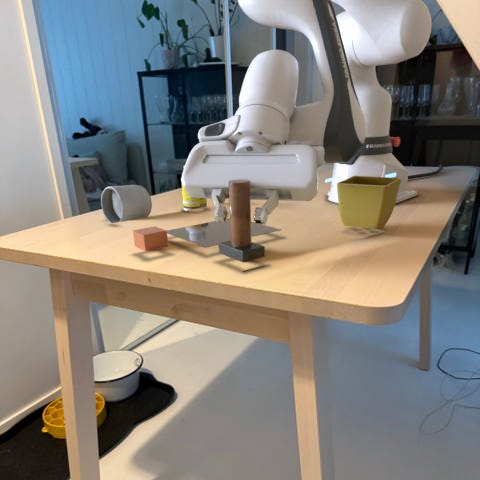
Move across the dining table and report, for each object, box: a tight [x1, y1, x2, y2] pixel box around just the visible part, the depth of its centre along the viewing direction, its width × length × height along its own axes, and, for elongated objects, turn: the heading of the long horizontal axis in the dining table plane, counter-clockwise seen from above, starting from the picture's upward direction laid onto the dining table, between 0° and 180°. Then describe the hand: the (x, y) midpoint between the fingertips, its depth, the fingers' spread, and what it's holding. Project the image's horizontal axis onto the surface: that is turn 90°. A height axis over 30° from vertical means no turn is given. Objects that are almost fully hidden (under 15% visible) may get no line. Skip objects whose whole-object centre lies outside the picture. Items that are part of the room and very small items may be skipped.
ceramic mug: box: [100, 184, 153, 224], centre depth 96 cm, size 11×8×8 cm
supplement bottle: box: [181, 165, 208, 211], centre depth 104 cm, size 5×5×10 cm
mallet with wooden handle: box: [218, 180, 266, 273], centre depth 66 cm, size 4×6×12 cm, turn 37°
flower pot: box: [337, 176, 401, 231], centre depth 81 cm, size 9×9×9 cm
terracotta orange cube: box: [132, 225, 169, 252], centre depth 74 cm, size 4×4×4 cm
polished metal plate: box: [166, 217, 282, 249], centre depth 82 cm, size 16×14×2 cm
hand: (239, 221), depth 65 cm, fingers open, 5 cm apart
